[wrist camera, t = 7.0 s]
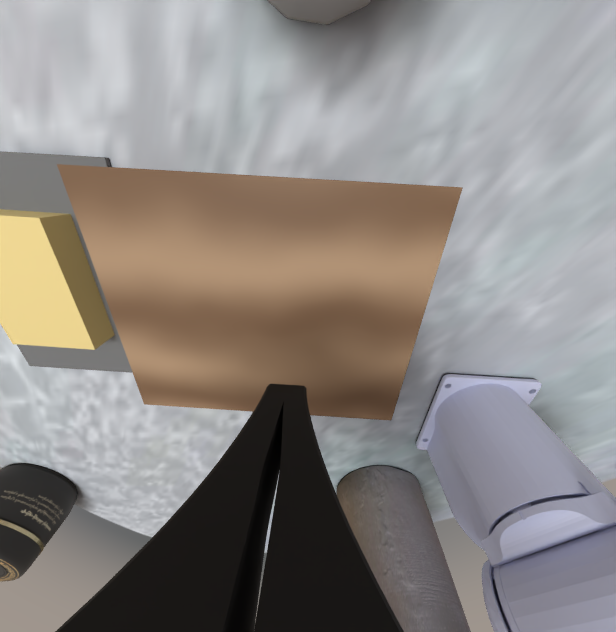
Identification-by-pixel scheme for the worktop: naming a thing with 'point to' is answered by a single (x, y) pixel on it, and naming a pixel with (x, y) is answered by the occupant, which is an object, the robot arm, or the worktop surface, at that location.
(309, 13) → the cup
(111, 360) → the mat
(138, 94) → the worktop surface
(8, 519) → the jar
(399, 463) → the worktop surface
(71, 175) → the plate
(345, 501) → the pillar candle
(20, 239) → the yellow block
